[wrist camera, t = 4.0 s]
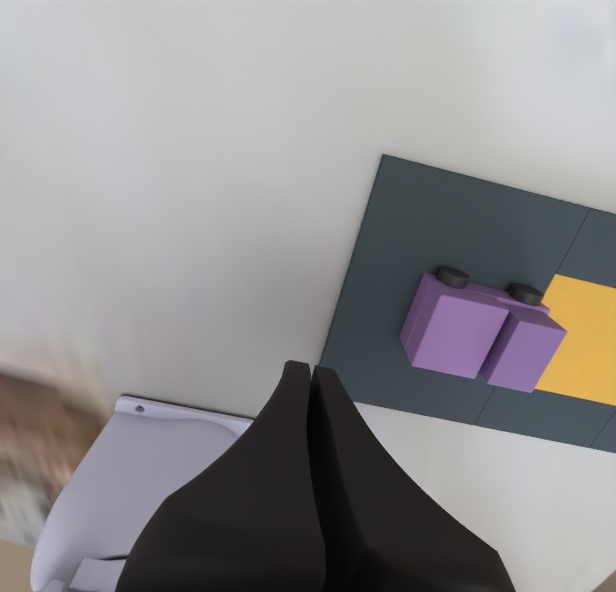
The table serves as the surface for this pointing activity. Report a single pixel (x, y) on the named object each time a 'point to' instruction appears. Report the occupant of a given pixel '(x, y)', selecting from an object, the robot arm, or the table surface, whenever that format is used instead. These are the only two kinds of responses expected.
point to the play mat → (490, 273)
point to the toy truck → (480, 330)
